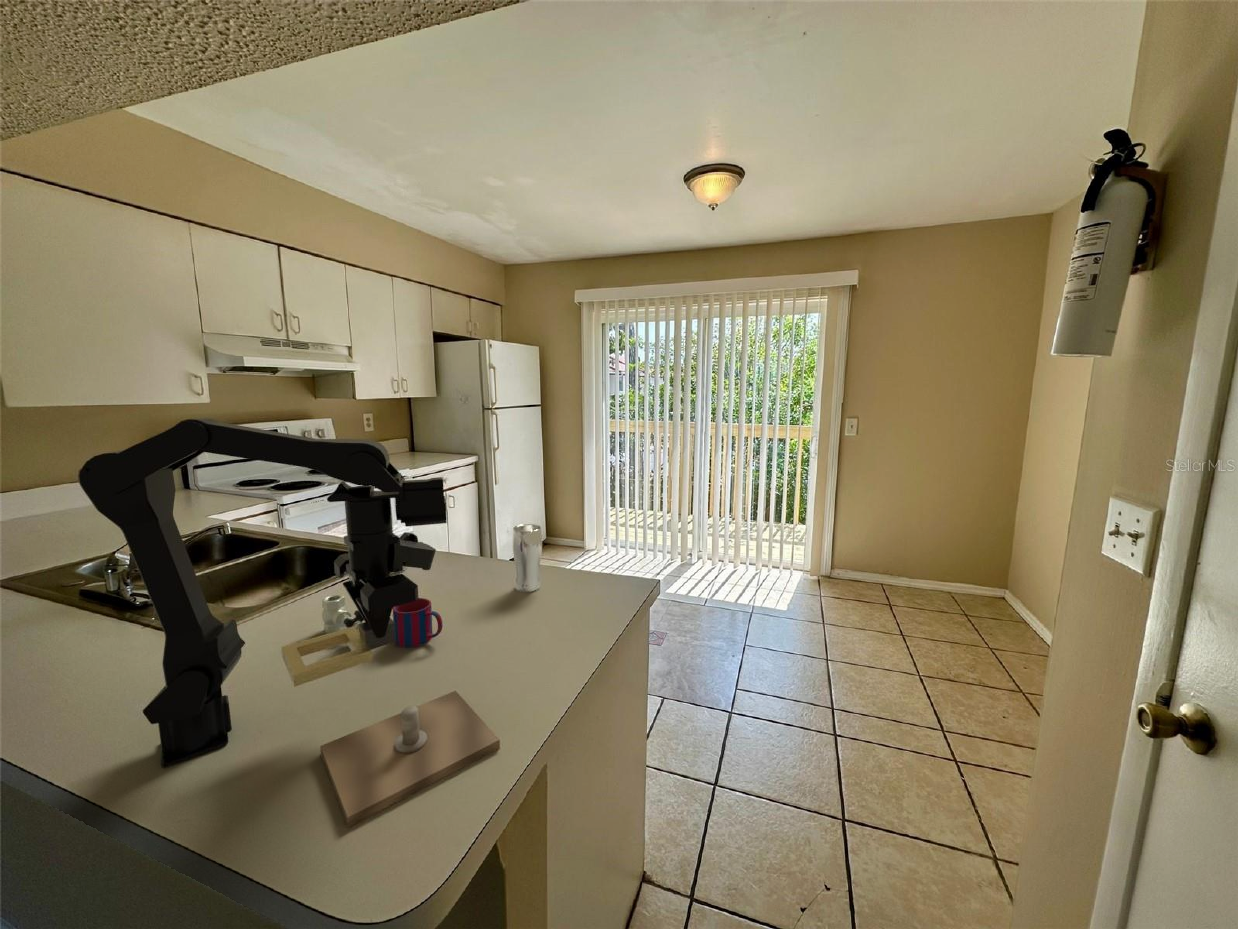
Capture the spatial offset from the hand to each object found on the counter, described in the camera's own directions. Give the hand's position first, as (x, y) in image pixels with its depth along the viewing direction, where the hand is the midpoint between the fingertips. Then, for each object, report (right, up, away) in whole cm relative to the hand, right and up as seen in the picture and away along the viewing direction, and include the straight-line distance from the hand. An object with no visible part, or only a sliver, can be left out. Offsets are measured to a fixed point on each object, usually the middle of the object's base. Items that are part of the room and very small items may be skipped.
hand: (377, 632), depth 70 cm
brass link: (-3, -2, -3) cm, 5 cm away
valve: (-17, -9, +23) cm, 30 cm away
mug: (-2, -9, +21) cm, 23 cm away
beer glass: (+13, -6, +47) cm, 49 cm away
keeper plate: (+8, -13, -7) cm, 17 cm away
